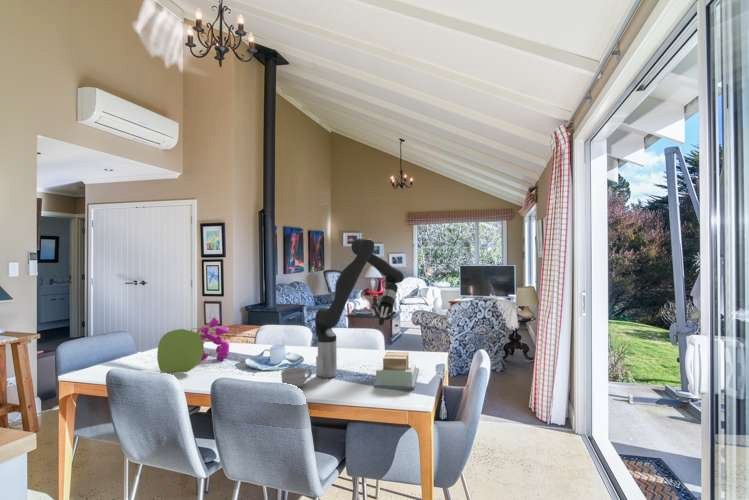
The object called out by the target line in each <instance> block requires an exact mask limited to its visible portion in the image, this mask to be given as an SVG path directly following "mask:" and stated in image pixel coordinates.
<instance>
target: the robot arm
mask: <svg viewBox="0 0 749 500" xmlns="http://www.w3.org/2000/svg"><path fill="white" fill-rule="evenodd" d="M351 251H352V253H353V254H354V255H355V256H356V257H355V258H354V260H353V261H351V262H350V263H349V264H348V265H346V267H345V268H343V270H342V271H341V272H340V274H339V276H338V278H337V279H336V282H335V285H334V286H335V287H334V299H333V301H332V303H331V304H330V305H329V308H328V307H321V308H319V309H318V310H317V311H316V313H315V317H314V320H315V321H314V325H315V334H316V335H315V336H316V337H317V356H316V357H315V359H316V360H315V361H316V362H315V365H316V366H315V371H316V375H315V376H316V377H319V378H321V379H330V378H335V377H337V376H338V371H337V370H338V367H337V366H338V365H337V362H338V361H337V360H338V358H337V351H338V350H337V334H336V333H335V331H333V329H332V328H335V327H336V326H337V325H338V323H339V321H340V319H341V317H342V314H343V312H344V309H345V307H346V304H347V302H348V300H349V297H350V295H351V293H352V291H353V290H354V287H355V285H356V283H357V282H358V279H359V277H360V276H361V273H362V271H363V269H364V268H365V266H366V264H367V263H368V264H369V265H371V267H373V268H375V270H377V271H378V273H380V274H381V275H382V276H384V278H385V279H384V281H385V287H384V290H383V293H382V295H381V297H380V301H379V304H378V305H377V307H375V306H374V307H373V310H372V311H373V313H374V315H375V317H376V318H377V319H378V325H379V326H381V327H382V326H384V325H385V323H386V321H390V320H391V319H392V318H394V317H396V315H397V312H396V311H394V305H395V302H396V299H397V298H396V297H397V293H398V288H399V287H398V285H397V284H400V283H402V282H403V281H404V278H405V275H404V273H403V272H402V271H401V270H400V269H399V268H396V267H395V266H392V265H391V264H390V263H389V262H388V261H387V260H385V259H384V258H382V257H381V256H379V255H377V254H375V253H374V251H375V242H374V241H373V239H371V238H355V239H354V240H353V241H352V243H351Z"/></svg>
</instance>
